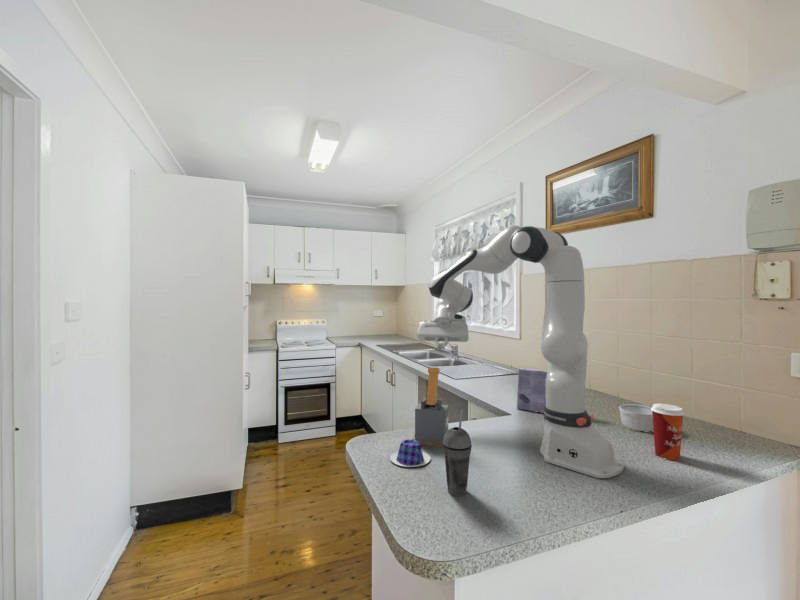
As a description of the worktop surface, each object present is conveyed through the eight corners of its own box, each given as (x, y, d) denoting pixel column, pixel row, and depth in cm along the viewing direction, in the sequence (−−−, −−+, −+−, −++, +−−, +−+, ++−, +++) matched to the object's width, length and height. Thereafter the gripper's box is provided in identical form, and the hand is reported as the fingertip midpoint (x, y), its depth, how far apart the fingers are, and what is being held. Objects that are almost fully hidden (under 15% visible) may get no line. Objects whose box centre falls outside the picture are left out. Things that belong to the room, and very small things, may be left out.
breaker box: (417, 435, 126) (417, 395, 126) (451, 438, 123) (451, 397, 123) (411, 443, 118) (411, 401, 118) (448, 447, 115) (448, 404, 115)
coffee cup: (675, 464, 104) (675, 412, 104) (645, 453, 111) (645, 405, 111) (690, 458, 108) (690, 408, 108) (660, 448, 115) (660, 401, 115)
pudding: (435, 455, 110) (435, 438, 110) (422, 472, 99) (422, 453, 99) (400, 449, 115) (400, 432, 115) (383, 464, 104) (383, 446, 104)
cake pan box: (566, 414, 150) (566, 371, 150) (564, 417, 146) (564, 373, 146) (519, 406, 160) (519, 367, 160) (516, 409, 156) (516, 368, 156)
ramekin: (622, 431, 131) (622, 411, 131) (616, 419, 143) (616, 402, 143) (666, 436, 126) (666, 416, 126) (656, 424, 138) (656, 406, 138)
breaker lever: (426, 407, 120) (429, 369, 126) (436, 408, 119) (439, 369, 125) (424, 406, 118) (428, 367, 124) (435, 407, 117) (438, 367, 123)
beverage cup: (439, 484, 92) (439, 406, 92) (467, 483, 93) (467, 405, 93) (445, 499, 85) (445, 415, 85) (475, 498, 86) (475, 414, 86)
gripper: (418, 315, 147) (412, 342, 138) (469, 316, 142) (466, 344, 132) (420, 326, 152) (415, 352, 142) (470, 326, 146) (467, 354, 137)
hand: (440, 348), depth 137 cm, fingers closed
